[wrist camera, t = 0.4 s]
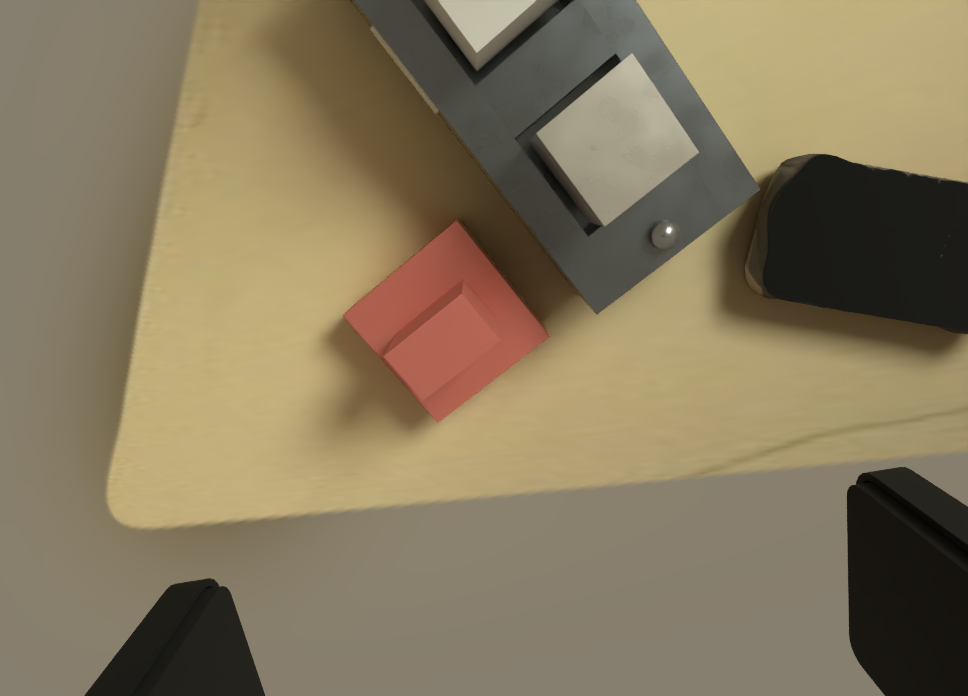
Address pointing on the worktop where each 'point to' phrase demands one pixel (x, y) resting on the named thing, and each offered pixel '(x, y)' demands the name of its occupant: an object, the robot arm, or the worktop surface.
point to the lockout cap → (447, 321)
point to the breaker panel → (545, 96)
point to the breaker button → (486, 23)
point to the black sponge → (863, 241)
